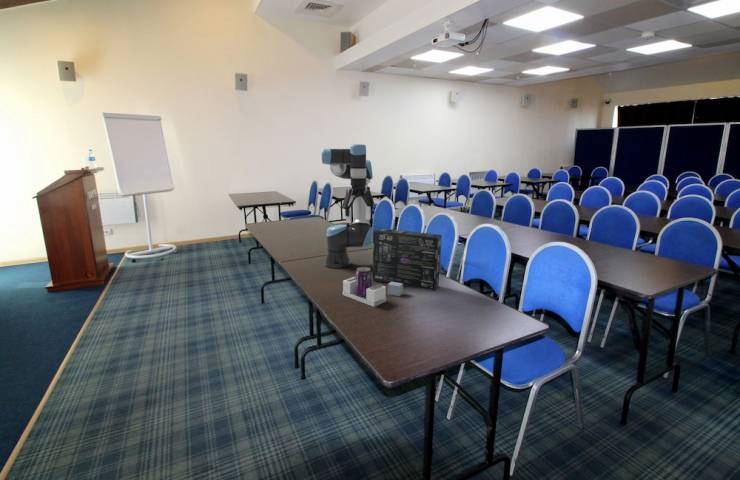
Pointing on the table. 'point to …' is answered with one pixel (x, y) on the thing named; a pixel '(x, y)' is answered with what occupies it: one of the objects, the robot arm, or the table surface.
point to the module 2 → (375, 293)
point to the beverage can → (363, 280)
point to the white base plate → (363, 299)
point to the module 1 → (349, 285)
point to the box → (406, 258)
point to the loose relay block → (395, 288)
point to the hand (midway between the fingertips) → (358, 221)
